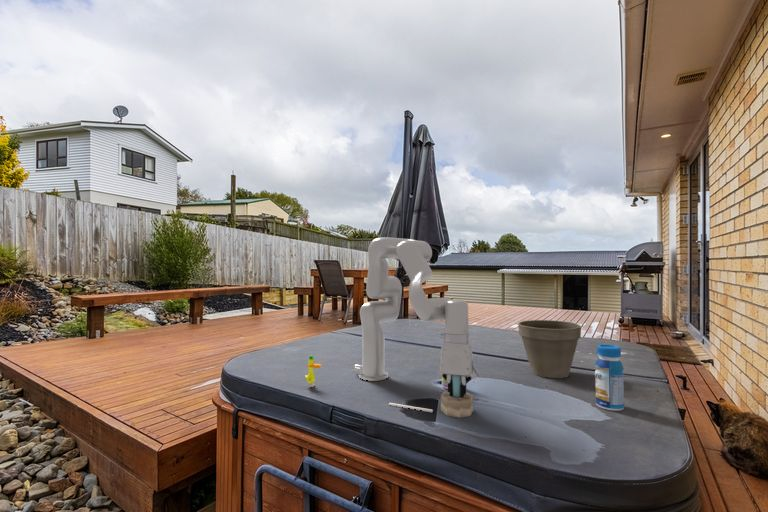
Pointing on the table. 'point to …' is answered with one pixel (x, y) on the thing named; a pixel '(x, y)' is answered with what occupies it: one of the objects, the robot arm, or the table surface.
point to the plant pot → (550, 346)
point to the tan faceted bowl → (456, 405)
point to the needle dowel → (456, 386)
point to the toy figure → (311, 369)
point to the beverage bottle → (609, 378)
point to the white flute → (411, 407)
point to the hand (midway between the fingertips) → (457, 395)
